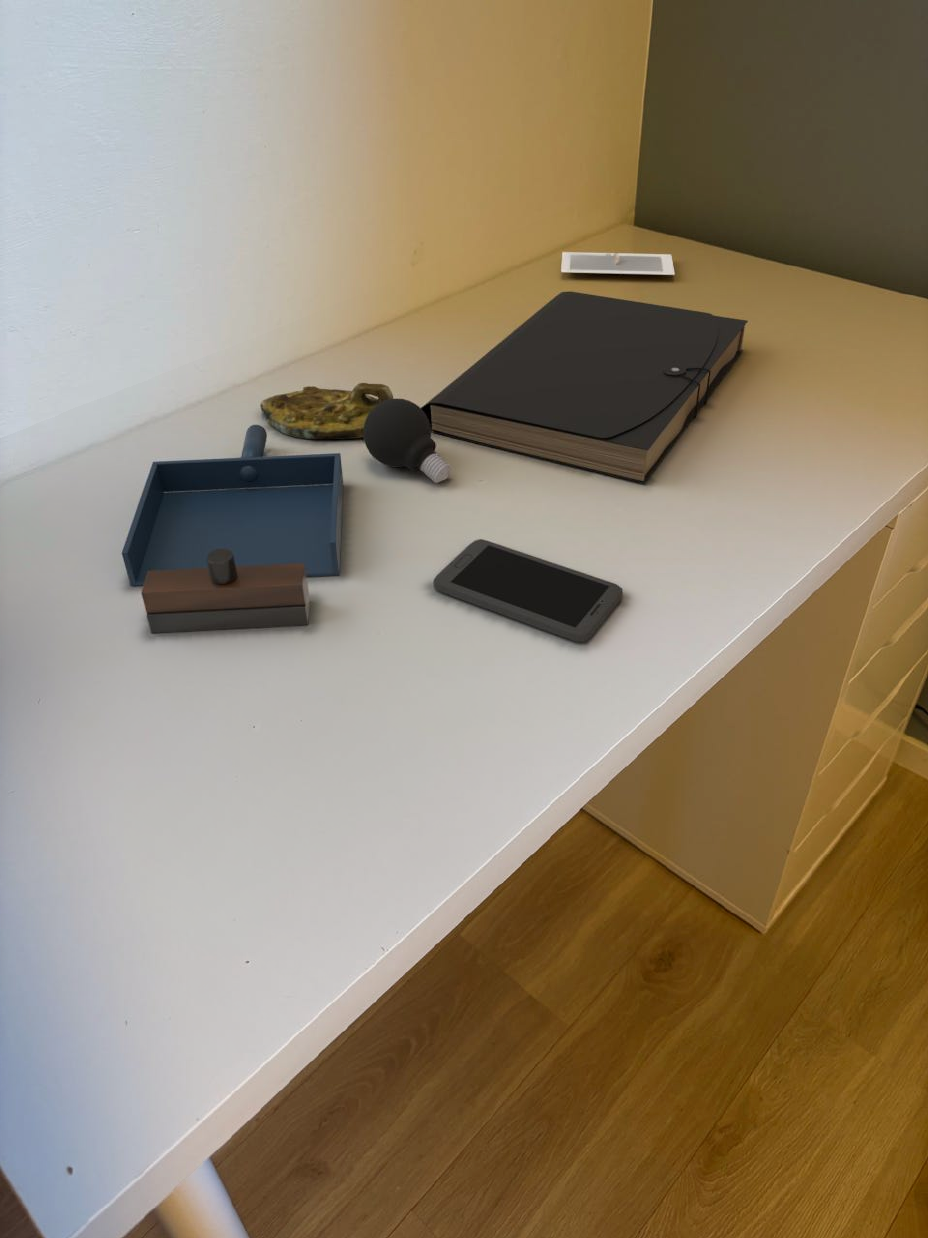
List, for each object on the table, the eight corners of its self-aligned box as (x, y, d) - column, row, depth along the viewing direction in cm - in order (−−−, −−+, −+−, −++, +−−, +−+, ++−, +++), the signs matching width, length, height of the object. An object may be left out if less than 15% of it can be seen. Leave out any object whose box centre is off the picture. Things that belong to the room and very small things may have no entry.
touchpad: (673, 282, 132) (675, 266, 131) (560, 280, 133) (561, 263, 132) (670, 262, 138) (672, 246, 137) (562, 259, 139) (562, 244, 138)
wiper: (307, 625, 77) (299, 564, 73) (151, 633, 76) (134, 572, 73) (310, 599, 79) (301, 539, 76) (158, 607, 79) (142, 547, 75)
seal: (248, 444, 101) (392, 452, 99) (239, 404, 98) (387, 412, 96) (274, 394, 108) (409, 400, 106) (266, 355, 104) (406, 361, 102)
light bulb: (439, 459, 88) (363, 390, 91) (412, 512, 92) (340, 445, 95) (481, 444, 93) (407, 379, 95) (454, 495, 97) (384, 431, 99)
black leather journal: (650, 446, 90) (419, 395, 99) (646, 485, 92) (421, 433, 101) (750, 317, 112) (554, 286, 121) (744, 352, 115) (553, 318, 124)
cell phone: (476, 543, 85) (476, 536, 84) (626, 594, 79) (627, 586, 79) (429, 588, 80) (429, 580, 80) (585, 645, 74) (585, 638, 74)
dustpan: (339, 575, 82) (335, 542, 80) (130, 586, 81) (121, 552, 79) (345, 442, 99) (342, 412, 97) (173, 450, 99) (167, 419, 96)
